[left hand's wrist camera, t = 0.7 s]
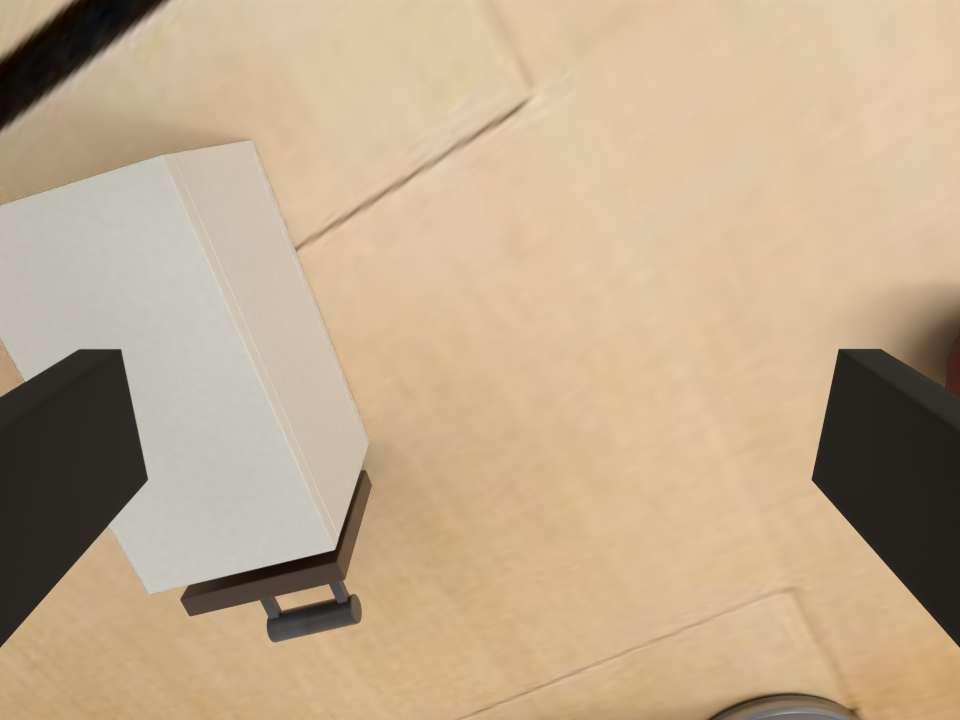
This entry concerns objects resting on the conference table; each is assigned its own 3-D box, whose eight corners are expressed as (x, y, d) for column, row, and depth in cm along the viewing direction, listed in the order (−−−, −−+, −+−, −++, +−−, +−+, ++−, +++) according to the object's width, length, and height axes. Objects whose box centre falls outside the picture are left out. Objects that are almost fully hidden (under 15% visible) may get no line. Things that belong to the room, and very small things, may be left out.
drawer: (399, 553, 44) (380, 659, 35) (277, 582, 44) (231, 692, 36) (263, 212, 36) (197, 247, 27) (118, 256, 36) (12, 302, 28)
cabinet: (370, 441, 42) (335, 550, 32) (226, 478, 43) (148, 595, 33) (252, 139, 35) (161, 154, 25) (85, 191, 36) (-67, 226, 26)
